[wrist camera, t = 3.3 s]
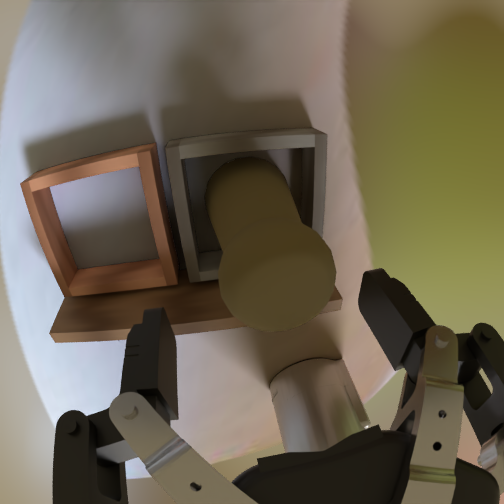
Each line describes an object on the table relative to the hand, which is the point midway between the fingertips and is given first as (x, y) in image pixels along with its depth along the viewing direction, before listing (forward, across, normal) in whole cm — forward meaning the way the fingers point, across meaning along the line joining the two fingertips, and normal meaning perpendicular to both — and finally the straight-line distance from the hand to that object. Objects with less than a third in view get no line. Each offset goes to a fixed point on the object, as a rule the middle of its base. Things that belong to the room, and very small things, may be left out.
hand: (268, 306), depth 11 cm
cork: (+11, -1, 0) cm, 11 cm away
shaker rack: (+11, +4, 0) cm, 12 cm away
